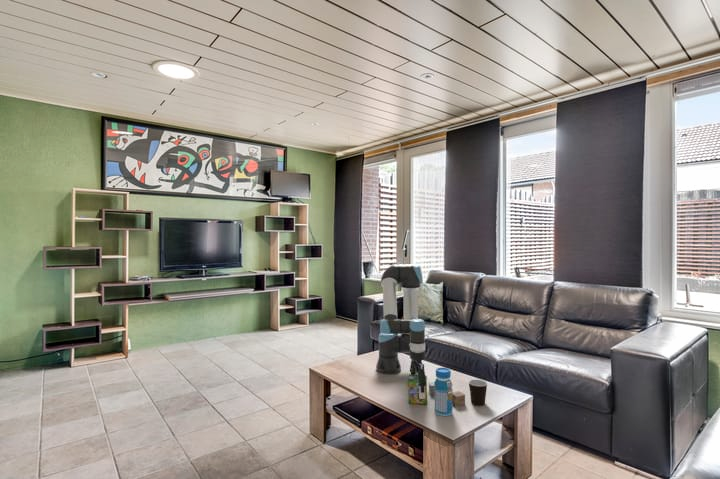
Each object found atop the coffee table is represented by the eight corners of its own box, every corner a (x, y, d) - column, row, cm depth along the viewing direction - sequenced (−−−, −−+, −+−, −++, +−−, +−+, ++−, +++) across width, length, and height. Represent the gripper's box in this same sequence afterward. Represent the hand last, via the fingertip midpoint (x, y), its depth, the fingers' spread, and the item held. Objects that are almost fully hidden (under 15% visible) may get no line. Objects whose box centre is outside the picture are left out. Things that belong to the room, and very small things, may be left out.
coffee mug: (484, 408, 184) (484, 387, 183) (466, 404, 188) (466, 384, 188) (490, 399, 193) (490, 379, 193) (473, 395, 198) (473, 376, 198)
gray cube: (428, 391, 205) (428, 381, 205) (438, 391, 204) (438, 381, 204) (430, 395, 200) (430, 385, 200) (439, 395, 199) (439, 385, 199)
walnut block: (450, 402, 191) (450, 392, 190) (458, 400, 192) (458, 390, 192) (456, 406, 186) (456, 396, 186) (465, 404, 188) (464, 394, 188)
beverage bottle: (436, 416, 176) (435, 373, 176) (432, 408, 184) (432, 366, 184) (454, 416, 176) (454, 372, 176) (450, 408, 184) (450, 366, 184)
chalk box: (426, 405, 188) (426, 374, 188) (408, 403, 190) (407, 373, 190) (427, 397, 197) (427, 368, 197) (409, 395, 199) (409, 367, 199)
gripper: (403, 343, 205) (404, 383, 205) (417, 359, 180) (417, 404, 181) (417, 343, 206) (417, 382, 206) (432, 358, 181) (433, 402, 182)
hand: (417, 392), depth 193 cm, fingers open, 13 cm apart
